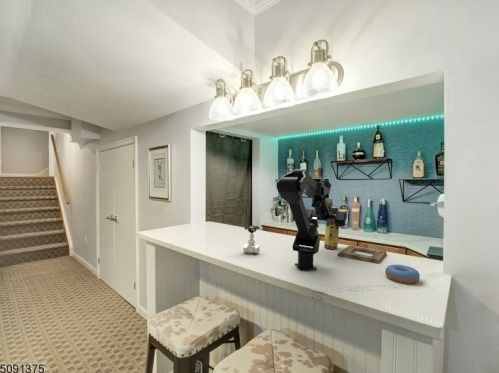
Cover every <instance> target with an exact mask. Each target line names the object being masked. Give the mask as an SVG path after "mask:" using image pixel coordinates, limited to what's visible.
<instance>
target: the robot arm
mask: <svg viewBox="0 0 499 373" xmlns="http://www.w3.org/2000/svg"><path fill="white" fill-rule="evenodd" d="M331 189H332V183H330V182H329V181H327V180H326V179H325V178H321V179H320V181H319V182H318V181H316V180H315V179H314V178H313V177H312V176H311V174H310V173H309V172H308V169H305V168H296V169H293V170H291V171H290V172H288V173H286V174H284V175H282V176H281V177H280V178H279V179H278V180H277V182H276V190H277V192H278V193H279V196H280V197H281V199H283V200H284V201H285V202H287V204H288V206H289V209H290V212H291V214H292V217H293V221H294V224H295V225H296V229H297V231H296V234H295V238H294V240H293V242H292V243H293V244H292V251H294V252H297V263H294V266H295V267H296V268H297V269H298V270H299V271H315V270H317V269H318V268H317V267H316V266H315V265H314V255H316V254H318V253H319V250H320V245H321V244H320V241H321V236H320V235H319V230H318V228H319V227H320V226H319V222H318V221H323V222H324V221H325V222H326V221H328V219H335V226H336V229H337V230H338V229H339V230H340V228H341V227H344V226H346V225H347V224H346V223H347V219H348V213H347V212H346V211H339V210H338V212H337V214H330V212H332V209H331V207H334V204H333V199H332V198H329V196H330V193H331V192H330V191H331ZM304 192H305V194H306V196H307V198H311V208H310V209H309V208H306V206H305V202H304V200H303V194H304ZM312 208H314V209H312Z"/></svg>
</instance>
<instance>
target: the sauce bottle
mask: <svg viewBox="0 0 499 373" xmlns="http://www.w3.org/2000/svg"><path fill="white" fill-rule="evenodd" d="M331 209H332V212H330V214H337V212H338V211H339V207H338V206H332V207H331ZM339 231H340V228H339V229H338V230H337V229H336V226H335V219H328V221H325V230H324V241H323V242H324V245H323V246H324V248H325V249H328V250H336V249H338V246H339V233H340V232H339Z"/></svg>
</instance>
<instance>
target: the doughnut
mask: <svg viewBox="0 0 499 373" xmlns="http://www.w3.org/2000/svg"><path fill="white" fill-rule="evenodd" d="M384 272H385V275H386V277H387V278H388V279H390V280H391V281H393V280H394V282H396V281H397V283H400V282H401V284H406V283H409V285H410V284H411V285H412V284H416V283H418V282H419V281H420V277H421V275H420V272H419V271H418V270H417V269H416V268H414V267H411V266H408V265H404V264H390V265H387V266H386V268H385V271H384Z"/></svg>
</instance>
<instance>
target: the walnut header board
mask: <svg viewBox="0 0 499 373" xmlns="http://www.w3.org/2000/svg"><path fill="white" fill-rule="evenodd" d="M355 252H358V253H355ZM361 253H363V254H361ZM366 254H370V255H366ZM337 256H338V257H343V258H347V259H353V260H356V261H357V260H358V261H364V262H369V263H373V264H380V263H381V261H382V260H383V259H384V258H385V257H386V256H387V250H380V249H375V248H370V247H369V248H368V247H362V246H357V245H350V244H349V245H347V247H345V248H343V249H341V250H340V251H339V252H337Z"/></svg>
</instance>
